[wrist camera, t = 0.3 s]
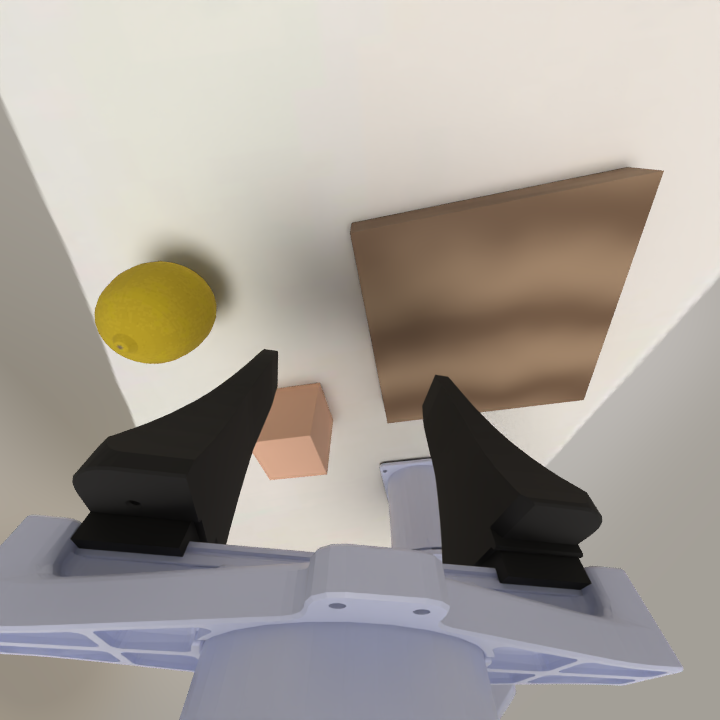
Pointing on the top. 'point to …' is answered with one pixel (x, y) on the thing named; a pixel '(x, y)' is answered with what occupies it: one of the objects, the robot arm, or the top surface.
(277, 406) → the cube
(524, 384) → the walnut block
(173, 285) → the lemon
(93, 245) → the top surface
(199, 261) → the top surface
